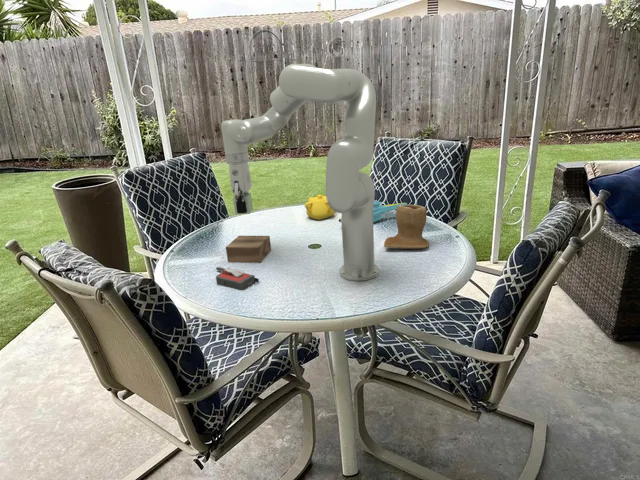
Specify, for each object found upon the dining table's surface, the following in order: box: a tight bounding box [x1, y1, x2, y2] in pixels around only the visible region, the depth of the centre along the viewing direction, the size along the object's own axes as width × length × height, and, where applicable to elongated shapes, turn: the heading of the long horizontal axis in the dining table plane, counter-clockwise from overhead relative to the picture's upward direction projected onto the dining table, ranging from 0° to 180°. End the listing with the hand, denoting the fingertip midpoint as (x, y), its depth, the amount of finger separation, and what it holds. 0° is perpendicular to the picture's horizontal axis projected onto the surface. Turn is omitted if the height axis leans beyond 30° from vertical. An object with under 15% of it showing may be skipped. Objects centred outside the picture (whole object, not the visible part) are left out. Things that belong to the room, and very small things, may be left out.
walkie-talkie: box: [215, 266, 260, 291], centre depth 140 cm, size 9×4×20 cm
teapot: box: [304, 194, 336, 221], centre depth 197 cm, size 14×13×10 cm
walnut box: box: [225, 235, 272, 264], centre depth 158 cm, size 12×12×6 cm
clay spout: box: [383, 204, 430, 250], centre depth 155 cm, size 15×12×15 cm
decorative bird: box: [338, 200, 408, 224], centre depth 184 cm, size 14×30×9 cm, turn 124°
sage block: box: [232, 192, 254, 215], centre depth 153 cm, size 5×5×6 cm
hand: (244, 210), depth 153 cm, fingers closed on sage block, 5 cm apart
